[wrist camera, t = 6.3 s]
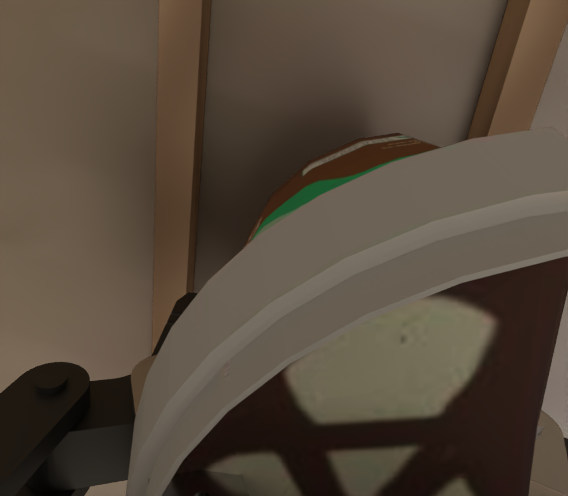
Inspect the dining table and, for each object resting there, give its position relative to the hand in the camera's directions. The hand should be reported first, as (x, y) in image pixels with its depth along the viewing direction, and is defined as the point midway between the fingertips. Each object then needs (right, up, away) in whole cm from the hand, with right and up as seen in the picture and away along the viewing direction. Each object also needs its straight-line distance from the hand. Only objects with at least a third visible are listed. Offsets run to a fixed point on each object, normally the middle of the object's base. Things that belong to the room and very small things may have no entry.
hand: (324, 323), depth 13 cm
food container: (-1, +1, +2) cm, 3 cm away
